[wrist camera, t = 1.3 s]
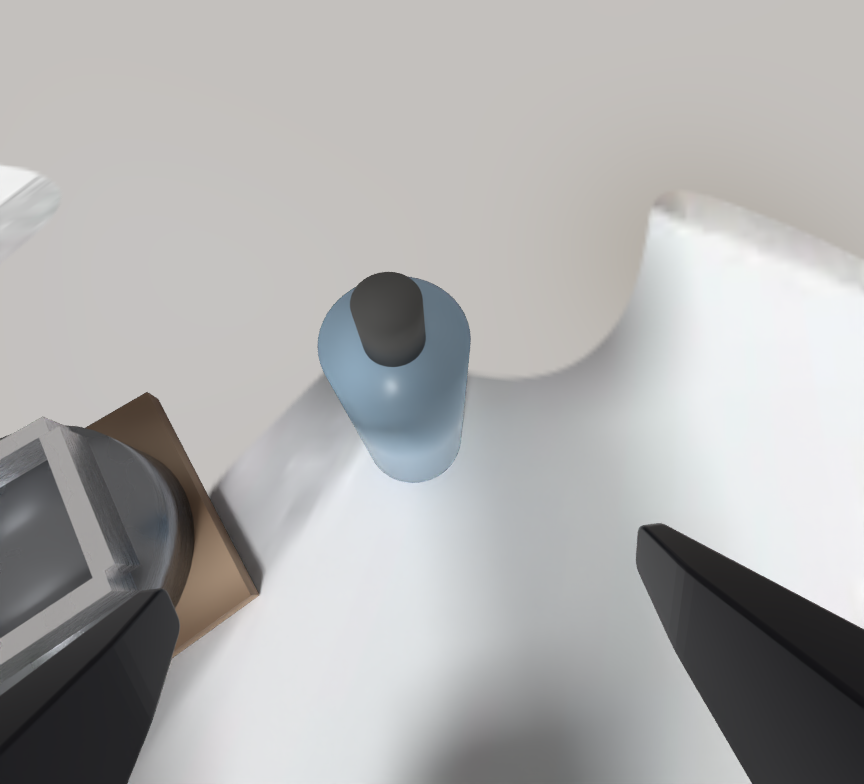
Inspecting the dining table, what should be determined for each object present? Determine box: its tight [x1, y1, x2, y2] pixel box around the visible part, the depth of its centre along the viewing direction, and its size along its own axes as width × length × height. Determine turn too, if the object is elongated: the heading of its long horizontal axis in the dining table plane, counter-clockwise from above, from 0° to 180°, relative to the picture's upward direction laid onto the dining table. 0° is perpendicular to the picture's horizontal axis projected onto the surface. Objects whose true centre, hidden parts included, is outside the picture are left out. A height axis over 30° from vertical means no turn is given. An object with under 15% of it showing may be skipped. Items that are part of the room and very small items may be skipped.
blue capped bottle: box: [318, 272, 470, 483], centre depth 18 cm, size 5×5×12 cm
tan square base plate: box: [0, 392, 259, 695], centre depth 19 cm, size 12×12×6 cm
